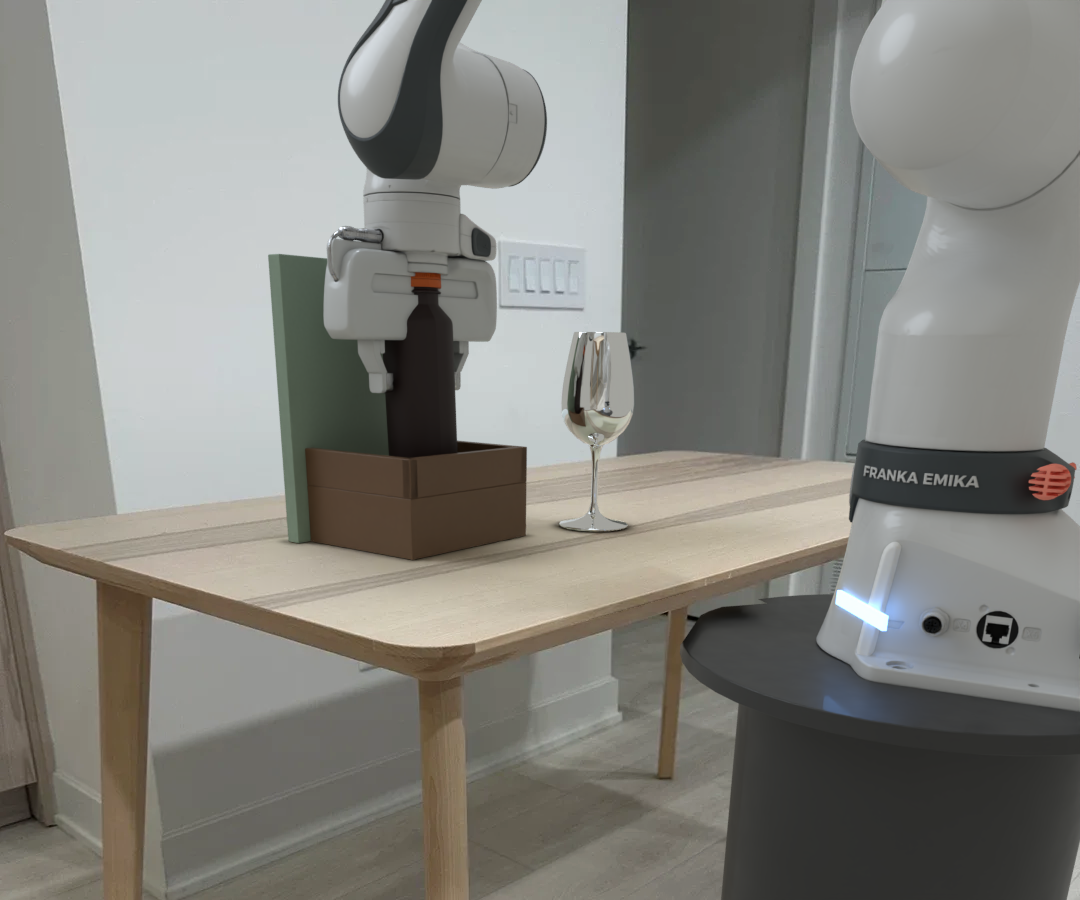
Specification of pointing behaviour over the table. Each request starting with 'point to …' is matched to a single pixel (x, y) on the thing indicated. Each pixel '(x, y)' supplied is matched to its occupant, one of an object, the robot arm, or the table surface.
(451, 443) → the vinegar
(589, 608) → the table surface
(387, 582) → the table surface
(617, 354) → the wineglass
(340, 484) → the door shelf
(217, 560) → the table surface
